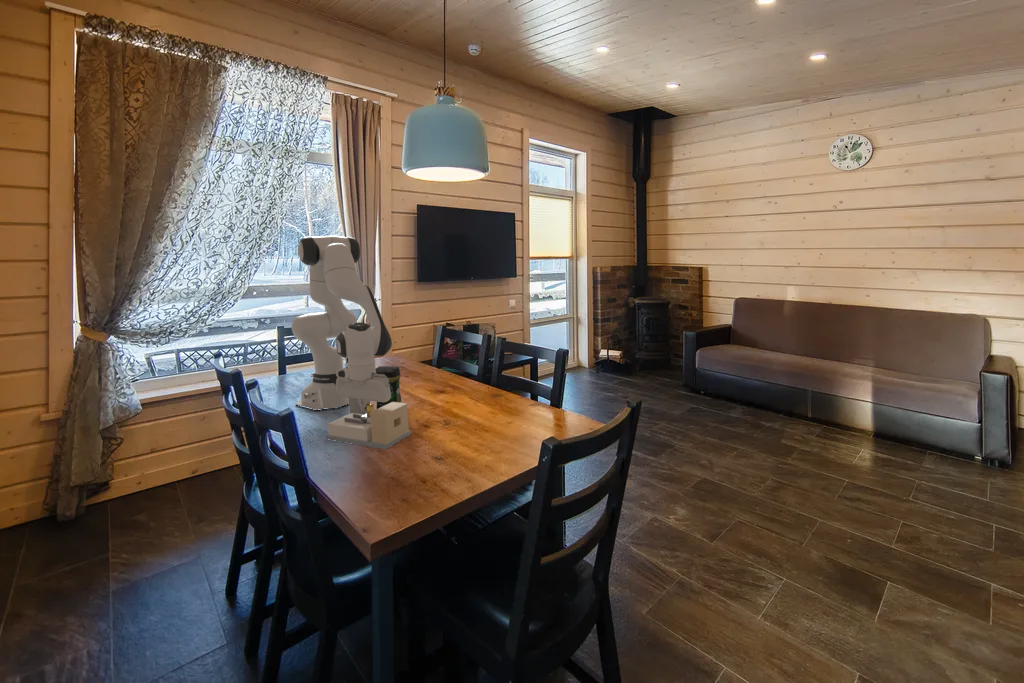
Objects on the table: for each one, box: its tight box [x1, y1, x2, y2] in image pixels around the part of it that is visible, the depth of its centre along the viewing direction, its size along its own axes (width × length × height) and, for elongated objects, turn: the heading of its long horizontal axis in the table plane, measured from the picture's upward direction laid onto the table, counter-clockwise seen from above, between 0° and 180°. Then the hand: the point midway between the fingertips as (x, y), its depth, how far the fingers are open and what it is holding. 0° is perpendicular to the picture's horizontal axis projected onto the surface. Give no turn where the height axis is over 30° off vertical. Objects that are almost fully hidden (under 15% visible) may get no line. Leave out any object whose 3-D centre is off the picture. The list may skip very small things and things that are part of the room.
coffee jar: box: [376, 365, 403, 409], centre depth 192 cm, size 10×8×19 cm
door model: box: [326, 402, 412, 450], centre depth 166 cm, size 24×14×12 cm, turn 68°
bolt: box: [361, 403, 375, 423], centre depth 164 cm, size 10×3×6 cm, turn 68°
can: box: [348, 398, 371, 415], centre depth 187 cm, size 8×8×12 cm
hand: (364, 411), depth 166 cm, fingers closed
